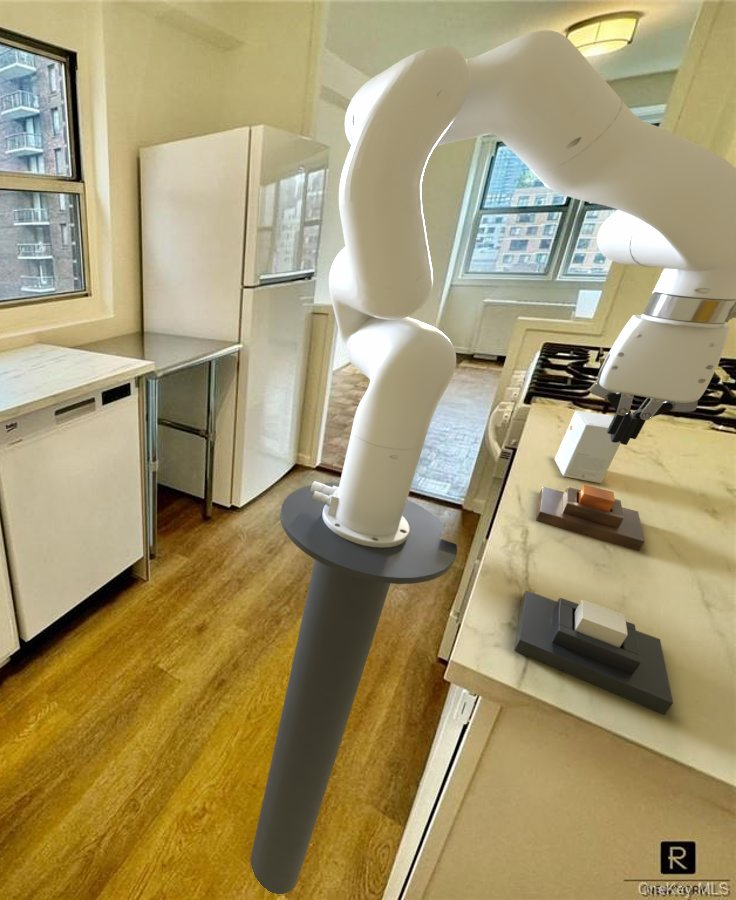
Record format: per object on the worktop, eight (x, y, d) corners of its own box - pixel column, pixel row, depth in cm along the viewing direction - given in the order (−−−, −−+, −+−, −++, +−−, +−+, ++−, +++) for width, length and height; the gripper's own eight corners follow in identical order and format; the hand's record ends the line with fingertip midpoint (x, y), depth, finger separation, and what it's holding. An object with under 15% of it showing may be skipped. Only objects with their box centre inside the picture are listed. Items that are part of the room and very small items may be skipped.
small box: (600, 484, 86) (628, 431, 82) (561, 476, 89) (585, 424, 84) (589, 466, 93) (614, 415, 88) (553, 459, 95) (575, 409, 90)
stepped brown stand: (535, 520, 76) (544, 501, 75) (539, 494, 83) (546, 477, 82) (639, 551, 69) (651, 531, 68) (633, 520, 76) (643, 501, 75)
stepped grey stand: (514, 650, 53) (525, 627, 52) (520, 600, 60) (531, 578, 59) (664, 715, 47) (683, 690, 45) (652, 650, 54) (668, 627, 52)
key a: (574, 631, 52) (582, 617, 51) (574, 612, 54) (581, 599, 54) (618, 649, 50) (627, 634, 49) (616, 628, 52) (625, 614, 52)
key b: (578, 504, 75) (583, 493, 74) (578, 495, 77) (583, 484, 76) (608, 513, 73) (615, 501, 72) (607, 503, 75) (613, 491, 74)
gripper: (765, 314, 60) (686, 447, 68) (606, 299, 68) (553, 419, 76) (785, 323, 54) (696, 466, 63) (610, 306, 63) (552, 434, 71)
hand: (618, 440), depth 69 cm, fingers closed
